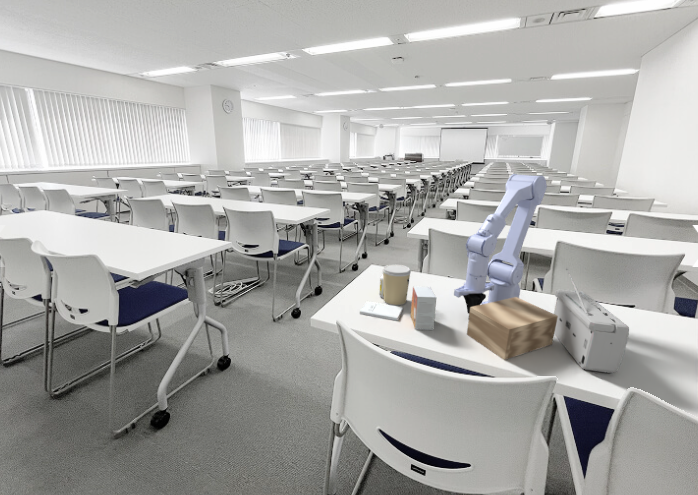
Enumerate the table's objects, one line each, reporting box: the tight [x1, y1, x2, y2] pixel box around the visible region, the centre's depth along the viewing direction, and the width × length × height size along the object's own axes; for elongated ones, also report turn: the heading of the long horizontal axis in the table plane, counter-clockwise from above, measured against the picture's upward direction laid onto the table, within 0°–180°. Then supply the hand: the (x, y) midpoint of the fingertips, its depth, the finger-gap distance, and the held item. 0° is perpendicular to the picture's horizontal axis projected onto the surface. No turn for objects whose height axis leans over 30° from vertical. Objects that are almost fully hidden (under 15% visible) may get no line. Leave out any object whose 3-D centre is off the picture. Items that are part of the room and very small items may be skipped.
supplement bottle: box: [378, 269, 384, 299], centre depth 117 cm, size 5×5×10 cm
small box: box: [410, 285, 437, 331], centre depth 98 cm, size 8×6×10 cm
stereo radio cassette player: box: [553, 267, 630, 374], centre depth 84 cm, size 21×8×20 cm, turn 170°
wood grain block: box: [466, 297, 558, 361], centre depth 90 cm, size 18×13×9 cm
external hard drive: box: [359, 300, 404, 321], centre depth 106 cm, size 2×8×12 cm
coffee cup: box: [382, 263, 411, 307], centre depth 113 cm, size 9×9×12 cm
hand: (471, 313), depth 104 cm, fingers closed
